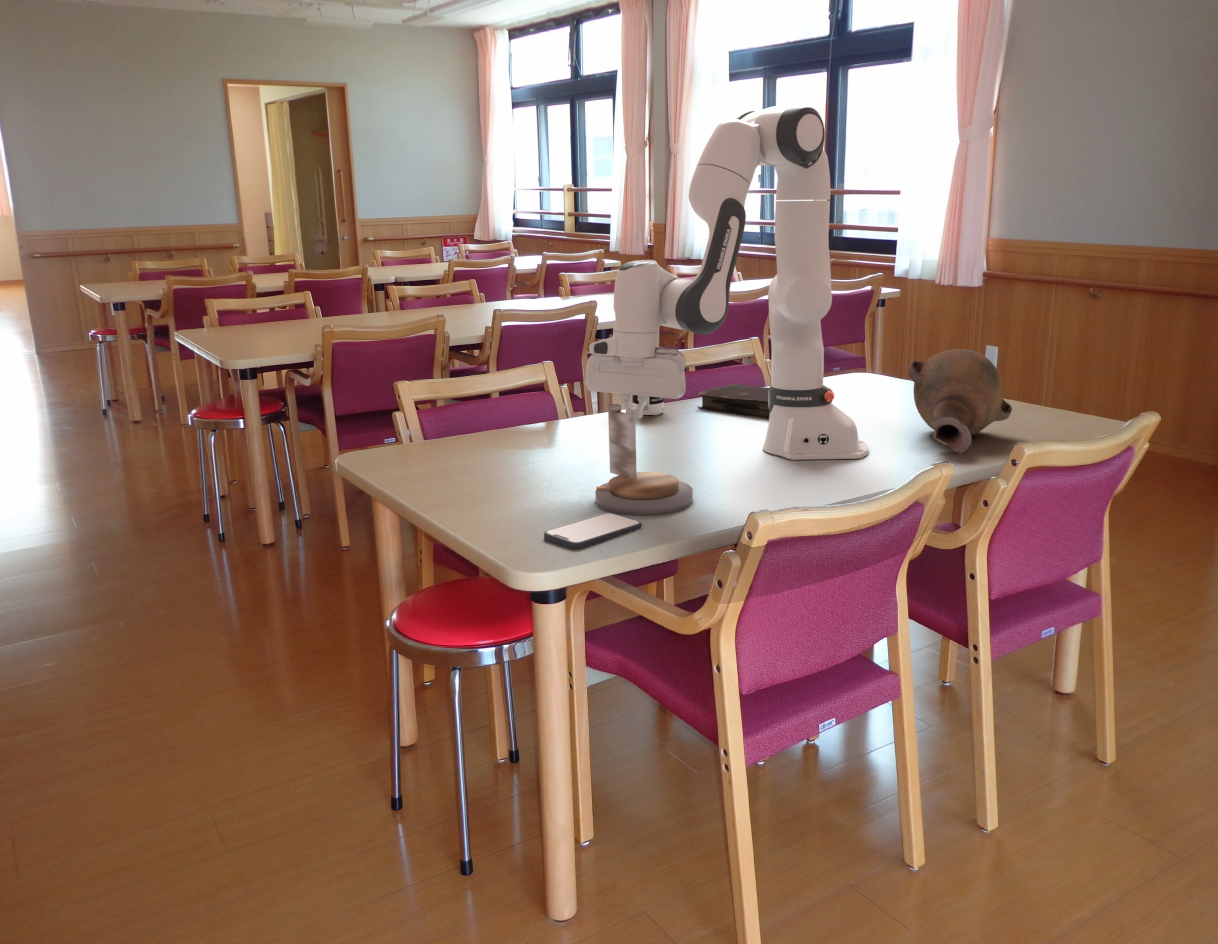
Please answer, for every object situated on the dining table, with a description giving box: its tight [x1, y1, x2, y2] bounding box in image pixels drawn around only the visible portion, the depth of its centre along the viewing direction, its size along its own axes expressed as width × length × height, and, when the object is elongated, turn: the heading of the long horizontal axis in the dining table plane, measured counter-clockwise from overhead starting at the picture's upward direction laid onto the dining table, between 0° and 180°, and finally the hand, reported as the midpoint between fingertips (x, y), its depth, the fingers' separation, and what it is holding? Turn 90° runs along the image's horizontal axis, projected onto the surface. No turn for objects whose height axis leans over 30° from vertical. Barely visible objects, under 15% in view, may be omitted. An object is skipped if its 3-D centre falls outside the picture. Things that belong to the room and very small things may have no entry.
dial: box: [607, 403, 680, 499], centre depth 182 cm, size 16×13×15 cm
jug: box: [907, 348, 1013, 455], centre depth 220 cm, size 20×20×30 cm
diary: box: [696, 383, 770, 420], centre depth 261 cm, size 19×25×5 cm
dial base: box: [594, 480, 694, 516], centre depth 184 cm, size 18×18×2 cm
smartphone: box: [543, 512, 643, 551], centre depth 167 cm, size 9×2×16 cm
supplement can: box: [631, 395, 665, 416], centre depth 258 cm, size 8×8×15 cm
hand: (634, 417), depth 193 cm, fingers closed
